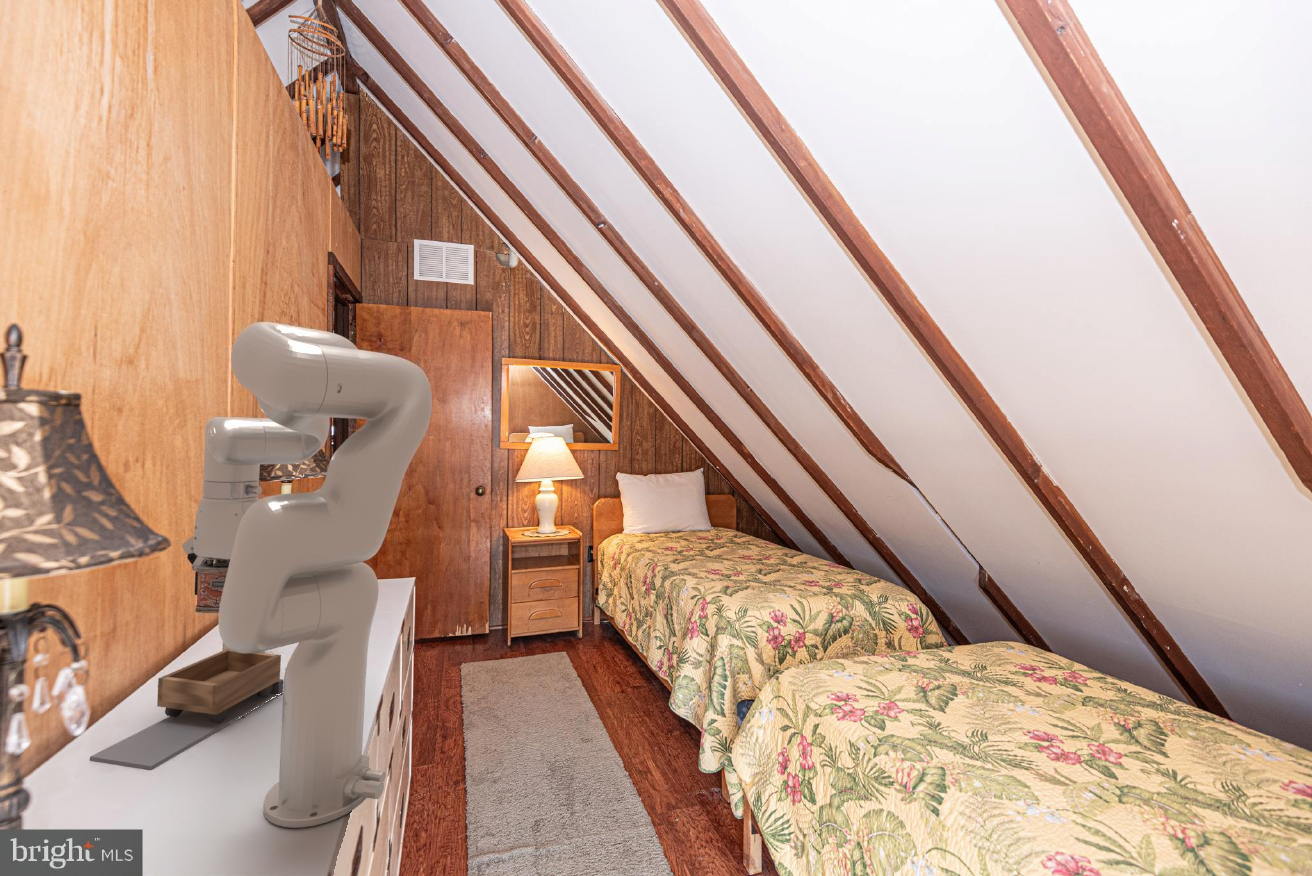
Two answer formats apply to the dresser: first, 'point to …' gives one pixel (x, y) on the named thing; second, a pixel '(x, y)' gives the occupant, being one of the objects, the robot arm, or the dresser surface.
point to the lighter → (211, 585)
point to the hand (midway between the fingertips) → (226, 594)
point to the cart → (218, 683)
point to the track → (175, 735)
